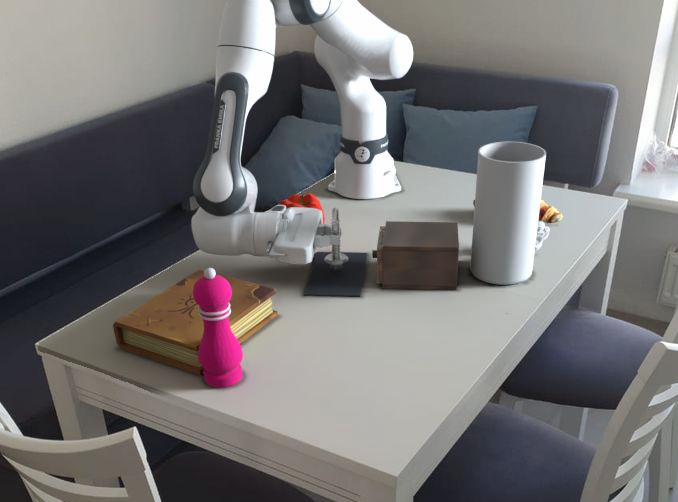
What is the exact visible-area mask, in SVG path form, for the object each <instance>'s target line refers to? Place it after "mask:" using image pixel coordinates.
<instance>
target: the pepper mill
mask: <svg viewBox="0 0 678 502" xmlns="http://www.w3.org/2000/svg"><path fill="white" fill-rule="evenodd" d="M203 271H204V277H202V278H200V279H198V280H197V281H196V283H195V285H194V287H193V297H194V300H195V302H196V303H197V304H198V305H199V307H198V310H199V316H200V317H201V318H202V319H203V322H204V332H203V336H202V339H201V342H200V345H199V351H198V359H199V363H200V364H201V365H202V367H204V373H203V378H204V382H205V383H206V384H207V385H208V386H210V387H213V388H219V389H220V388H228V387H232V386H234V385H237V384H238V383H239V382H240V381H241V380H242V378H243V369H242V365H241V362H242V361H243V357H244V353H243V348H242V346H241V344H240V343H239V341H238V340H237V338H236V337H235V335H234V334H233V332H232V331H231V328H230V324H229V315H230V313H231V309H230V303H229V301H230V299H231V296H232V290H231V286H230V284H229V282H228V281H227V280H226V279H225V278H223V277H221V276H219V275H220V274H219V275H216V274H217V273H216V270H215V269H214V268H213V267H206V268H205V269H204V270H203Z"/></svg>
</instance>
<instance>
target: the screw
mask: <svg viewBox="0 0 678 502" xmlns="http://www.w3.org/2000/svg"><path fill="white" fill-rule="evenodd" d="M339 215H340V213H339V208H337V207H333V208H332V209H331V222H330V224H331V225H330V226H331V227H332V228H331V229H332V231H331V232H332V234H339V235H340V228H341V222H340V218H339ZM341 247H342V246H341V239H340V242H339V244H338V245H331V252H332V253H331V254H328V255H327V256H326V257H325V262H326V263H328V264H330V269H333V270H342V268H343V264H344V263H346V262H348V256H346V255H345V254H343V253H341V252H342V251H341V250H342V248H341Z"/></svg>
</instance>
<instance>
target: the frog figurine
mask: <svg viewBox="0 0 678 502" xmlns="http://www.w3.org/2000/svg"><path fill="white" fill-rule="evenodd" d="M550 232H551V229H550V228H549V226H548V225H546V224H545V222H543V221H538V227H537V235H536V244H535V252H534V253H536V252H537V251H539V250H540V249H541V248H542V245H543V242H544V241H545V240H547V238H548V237H549V236H550Z"/></svg>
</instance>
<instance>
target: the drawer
mask: <svg viewBox="0 0 678 502" xmlns="http://www.w3.org/2000/svg"><path fill="white" fill-rule="evenodd" d="M385 226H386V225H385ZM385 226H382V225H381V226H379V232H378V237H377V238H378V239H377V244H376V249H372V253H371V254H372V256H371V257H372V259H376V283H377V284H383V241H384V234H385Z"/></svg>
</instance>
